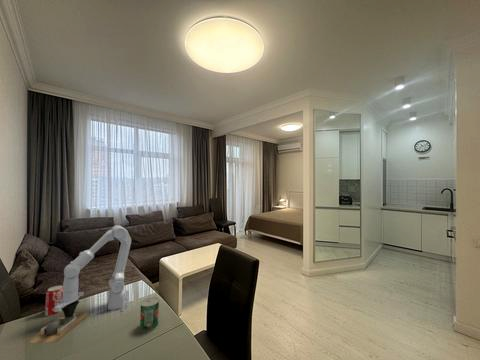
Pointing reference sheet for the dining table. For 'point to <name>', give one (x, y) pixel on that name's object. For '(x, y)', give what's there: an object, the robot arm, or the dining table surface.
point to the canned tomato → (149, 314)
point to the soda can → (53, 299)
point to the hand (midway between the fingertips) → (68, 318)
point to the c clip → (66, 323)
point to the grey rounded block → (52, 327)
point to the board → (55, 338)
